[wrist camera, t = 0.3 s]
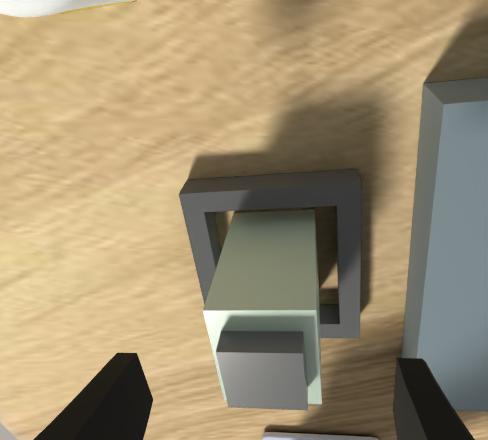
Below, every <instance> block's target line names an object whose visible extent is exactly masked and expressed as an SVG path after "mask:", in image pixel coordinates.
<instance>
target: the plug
mask: <svg viewBox="0 0 488 440" xmlns="http://www.w3.org/2000/svg"><path fill="white" fill-rule="evenodd" d="M203 313H204V317H205V321H206V326H207V330H208V334H209V338H210V342H211V346H212V351H213V355H214V359H215V363H216V367H217V372H218V376H219V380H220V384H221V388H222V393H223V397H224V401H227V403H228V407H236V408H261V409H287V410H308V404H322V387H321V347H320V307H319V279H318V261H317V242H316V223H315V209H312V210H291V211H270V212H249V213H234V214H233V217H232V220H231V223H230V226H229V229H228V233H227V236H226V239H225V242H224V245H223V249H222V252H221V255H220V258H219V261H218V264H217V268H216V271H215V274H214V277H213V280H212V283H211V287H210V290H209V293H208V296H207V299H206V302H205V306H204V309H203Z"/></svg>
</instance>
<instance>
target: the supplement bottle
mask: <svg viewBox="0 0 488 440" xmlns="http://www.w3.org/2000/svg"><path fill="white" fill-rule="evenodd" d="M134 1H137V0H0V13H1V14H5V15H10V16H16V17H38V16H48V15H55V14H62V13H67V12H73V11H79V10H85V9H92V8H98V7H103V6H110V5H116V4H124V3H129V2H134Z"/></svg>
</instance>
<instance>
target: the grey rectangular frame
mask: <svg viewBox="0 0 488 440" xmlns="http://www.w3.org/2000/svg"><path fill="white" fill-rule="evenodd" d="M179 197H180V201H181V206H182V210H183V214H184V218H185V223H186V227H187V231H188V236H189V240H190V244H191V248H192V253H193V257H194V261H195V266H196V270H197V274H198V278H199V283H200V287H201V291H202V296H203V300H204V304H205V302H206V299H207V296H208V293H209V290H210V287H211V283H212V280H213V277H214V274H215V271H216V268H217V264H218V261H219V258H220V255H221V248H220V243H219V238H218V233H217V228H216V222H215V217H214V212H217V211H238V210H258V209H279V208H299V207H320V206H336V228H337V268H338V304H336V305H319V307H320V338H360V267H361V180H360V176H359V172H358V169H349V170H333V171H317V172H302V173H286V174H270V175H255V176H239V177H223V178H208V179H192V180H187V181H186V183H185V184H184V186H183V188H182V189H181V191H180V193H179Z"/></svg>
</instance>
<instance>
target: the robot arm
mask: <svg viewBox="0 0 488 440" xmlns="http://www.w3.org/2000/svg"><path fill="white" fill-rule="evenodd" d="M152 402H153V398H152V395H151V392H150V389H149V387H148V384H147V381H146V378H145V375H144V372H143V370H142V367H141V364H140V361H139V358H138V355H137V353H117V354H116V355H115V356H114V357H113V358H112V359H111V360H110V361H109V362H108V363H107V364H106V365H105V366H104V367H103V368H102V370H101V371H100V372H99V373H98V374H97V375H96V376H95V377H94V378H93V379H92V380H91V381H90V382H89V384H88V385H87V386H86V387H85V388H84V389H83V390H82V391H81V392H80V393H79V394H78V395H77V396H76V397H75V398H74V399H73V400H72V402H71V403H70V404H69V405H68V406H67V407H66V408H65V409H64V410H63V411H62V412H61V413H60V414H59V415H58V416H57V417H56V418H55V419H54V420H53V421H52V422H51V423H50V424H49V425H48V426H47V427H46V428H45V429H44V430H43V431H42V432H41V433H40V434H39V435H38V436H37V437H36V438H35V439H34V440H143V437H144V434H145V430H146V427H147V423H148V419H149V415H150V411H151V406H152ZM393 412H394V420H395V427H396V434H397V440H475V439H474V438H473V436H472V435H471V434H470V432H469V431H468V429H467V428H466V426H465V425H464V424H463V422H462V421H461V419H460V418H459V416H458V415H457V413H456V412H455V410H454V409H453V407H452V405H451V404H450V402H449V401H448V399H447V398H446V396H445V394H444V393H443V391H442V389H441V388H440V386H439V384H438V383H437V381H436V379H435V378H434V376H433V374H432V372H431V371H430V369H429V367H428V365H427V363H426V362H425V361H424V360H423V359H422V358H397V362H396V376H395V389H394V403H393ZM262 440H379V439H377V438H375V437H363V436H342V435H322V434H302V433H282V432H265V433H263V435H262Z"/></svg>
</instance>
